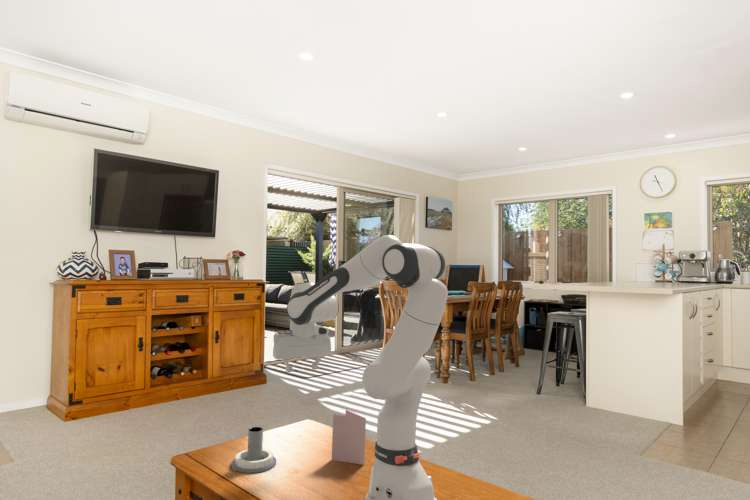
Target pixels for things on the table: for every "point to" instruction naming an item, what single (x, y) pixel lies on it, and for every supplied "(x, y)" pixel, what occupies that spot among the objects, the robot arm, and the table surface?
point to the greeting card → (348, 438)
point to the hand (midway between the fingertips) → (302, 370)
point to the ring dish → (253, 462)
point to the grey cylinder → (255, 444)
